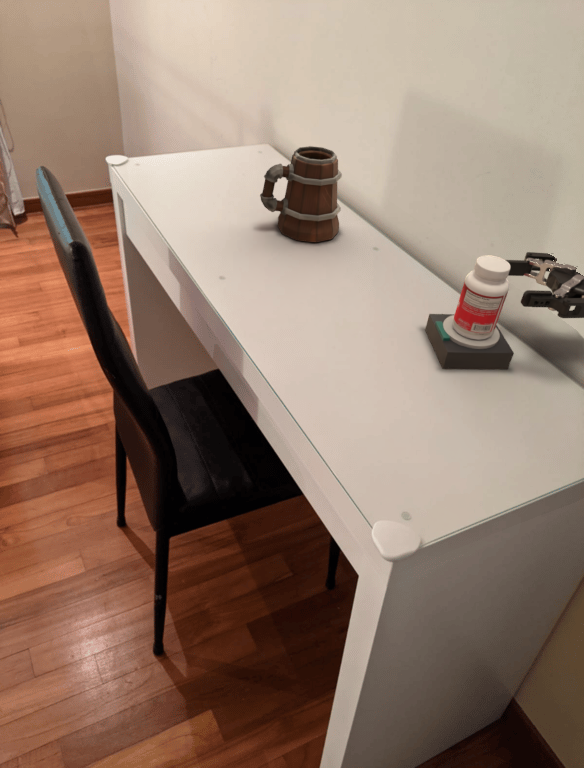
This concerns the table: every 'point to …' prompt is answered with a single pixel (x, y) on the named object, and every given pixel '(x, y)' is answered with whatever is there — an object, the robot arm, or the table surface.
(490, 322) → the pill bottle
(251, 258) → the table surface
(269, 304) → the table surface
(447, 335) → the scale
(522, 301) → the robot arm
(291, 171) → the mug
